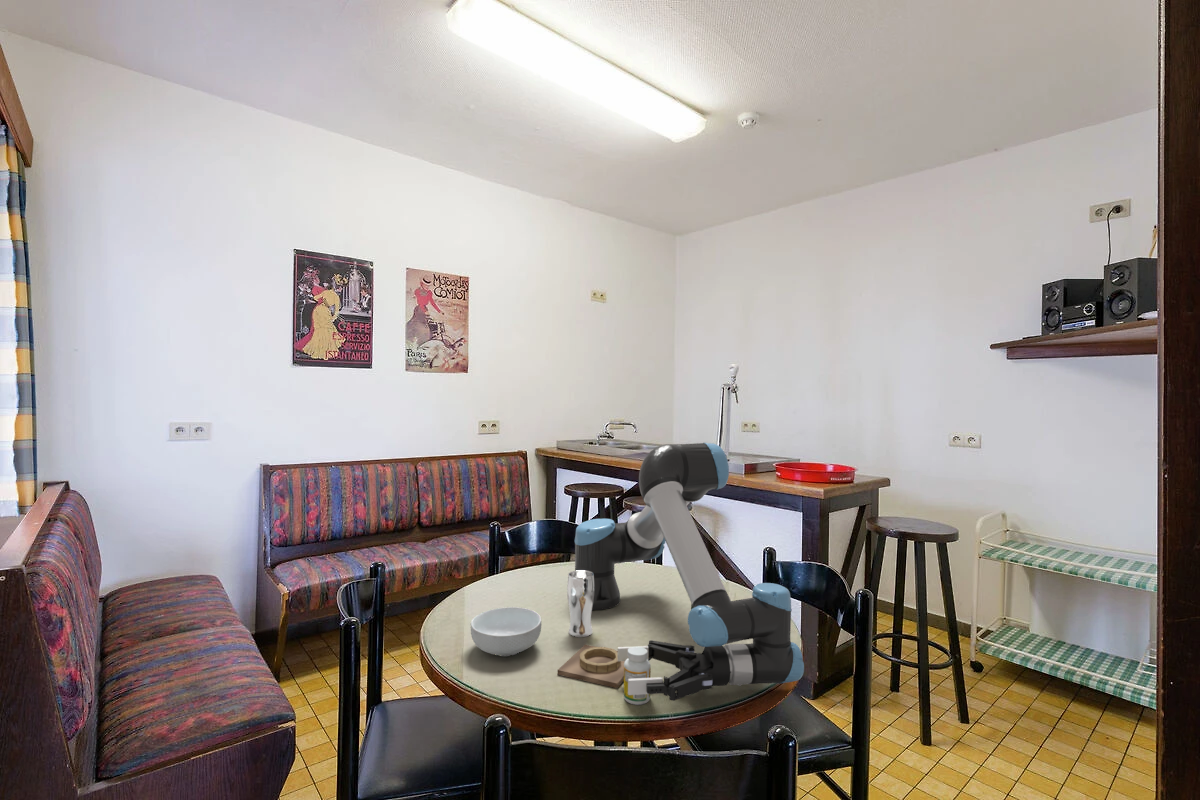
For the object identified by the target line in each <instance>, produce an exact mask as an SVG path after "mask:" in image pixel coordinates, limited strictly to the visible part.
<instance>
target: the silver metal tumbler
mask: <svg viewBox="0 0 1200 800" xmlns="http://www.w3.org/2000/svg"><path fill="white" fill-rule="evenodd" d="M567 575H568V577H567V584H566V585H567V587H566V590H567V591H566V593H567V594H566V595H567V603H568V610H569V615H570V621H569V628H568V634H569V635H570V636H571V635H572V637H574V636H575V638H586V637H589V635H590V636H591V635H592V634H593V627H592V612H593V610H592V607H593V602H594V591H595V588H594V573H593V572H590V571H586V570H576V571H575V570H572V571H570V572H568V574H567Z"/></svg>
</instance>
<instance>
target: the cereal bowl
mask: <svg viewBox="0 0 1200 800" xmlns="http://www.w3.org/2000/svg"><path fill="white" fill-rule="evenodd" d="M541 632H542V617H541V615H540V614H539V613H538V612H537V611H535V610H533V609H530V608H526V607H520V606H519V607H517V606H507V607H505V606H504V607H499V608H492V609H489V610H485V611H483V612H480V613H478V614H477V615H475V616H474V617H472V619H471V621H470V635H471V639H472V641H473V643H474V644H475V646H476V647H477V648H478V649H479V650H481V651H483V652H485V653H488V654H491V655H494V654H496V655H495V656H497V655H501V656H500V657H511V656H510V655H512V656H515V655H518V654H520V653H521V652H524V651H525V650H528V649H529V648H531V647H532V646H533V645H534V644H535V643H536V642H537V641H538V639H539V638H540V635H541ZM519 652H520V653H519ZM517 653H518V654H517Z"/></svg>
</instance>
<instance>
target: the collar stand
mask: <svg viewBox="0 0 1200 800" xmlns="http://www.w3.org/2000/svg"><path fill="white" fill-rule="evenodd" d="M624 662H625V661H618V650H615V649H614V648H611V647H606V646H595V645H590V644H583V646H582V647H581V648H579V650H577V651H576V652H575V653H574V654H573V655H572V656H571V657H569V659H567V660H566V661H565V662H564V663H563V664H562V665H561V666H560V667H559V668H558V669H557V675H558V676H561V677H562V676H563V677H566V678H567V677H568V678H571V679H575V680H580V681H585V682H588V683H593V684H598V685H601V686H605V687H610V688H614V689H618V688H619V687H620V685H622V683H624Z"/></svg>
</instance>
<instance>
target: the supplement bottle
mask: <svg viewBox="0 0 1200 800" xmlns="http://www.w3.org/2000/svg"><path fill="white" fill-rule="evenodd" d="M638 646H639V645H636V646H635V647H632V646H629V647H630V648H629V649H628V652H627V656H628V659H626V661H625V662H624V681H623V698H624V700H625V702H627V703H628V704H631V705H634V706H641V705H645V704H647V703H648V702H649V701H650V700H651V694H641V695H628V679H634V678H651V667H652V665H651V662H650V660H649V661H648V660H647V657H648V656H647V650H646V649H645V648H643V647H638Z"/></svg>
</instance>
